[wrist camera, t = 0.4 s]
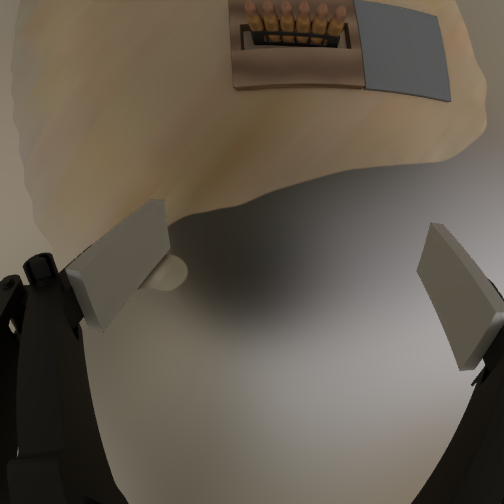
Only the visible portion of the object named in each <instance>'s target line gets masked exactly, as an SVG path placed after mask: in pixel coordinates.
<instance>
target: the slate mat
mask: <svg viewBox="0 0 504 504" xmlns="http://www.w3.org/2000/svg"><path fill="white" fill-rule="evenodd" d="M353 3H354V8H355V13H356V19H357V25H358V31H359V37H360V44H361V51H362V59H363V68H364V78H365V86H364V90H374V91H384V92H392V93H400V94H407V95H413V96H419V97H425V98H430V99H435V100H440V101H445V102H451V95H450V85H449V77H448V69H447V63H446V57H445V51H444V46H443V41H442V36H441V31H440V27H439V23H438V19H437V16H434V15H430V14H427V13H423V12H419V11H415V10H411V9H407V8H402V7H397V6H392V5H387V4H381V3H375V2H368V1H361V0H353Z"/></svg>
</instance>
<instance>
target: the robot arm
mask: <svg viewBox="0 0 504 504" xmlns="http://www.w3.org/2000/svg"><path fill="white" fill-rule="evenodd" d="M169 249H170V243H169V236H168V228H167V221H166V213H165V204H164V200H160V199H151V200H149V201H148V202H147V203H145V204H144V205H142V206H141V207H140V208H138V209H137V210H136V211H134V212H133V213H132V214H130V215H129V216H128V217H127V218H125V219H124V220H123V221H121V222H120V223H119V224H118V225H116V226H115V227H114V228H112V229H111V230H110V231H109V232H107V233H106V234H105V235H104V236H103V237H101V238H100V239H99V240H98V241H96V242H95V243H94V244H93V245H91V246H89V247H88V248H87V249H86V250H84V251H83V253H81V254H80V255H79V256H77V258H75V259H74V260H73V261H72V262H71V263H69V264H68V265H67V266H66V267H65V268H64V269H63V270H62V271H61V272H59V273H58V270H57V267H56V265H55V262H54V259H53V256H52V254H51V253H40V254H37V255H35V256H33V257H31V258H30V259H28V260H27V261H26V262H25V263H24V265H23V268H24V271H25V274H26V276H27V278H28V281H29V283H30V285H23V283H22V280H21V278H20V276H19V275H11V276H10V275H9V276H7V277H5V278H4V279H3V280H2V281H0V504H128V502H127V500H126V498H125V497H124V495H123V494H122V493H121V491H120V490H119V489H118V487H117V486H116V484H115V482H114V479H113V476H112V473H111V470H110V467H109V464H108V461H107V458H106V454H105V451H104V448H103V444H102V441H101V437H100V433H99V429H98V425H97V421H96V417H95V413H94V408H93V403H92V398H91V393H90V388H89V381H88V375H87V368H86V362H85V354H84V345H83V336H82V329H81V326H80V324H79V322H80V321H81V320H82V318H83V317H84V318H85V321H86V323H87V325H88V327H89V328H90V329H93V330H96V331H99V332H102V333H104V331H105V330H106V329H107V327H108V326H109V325H110V323H111V322H112V321H113V319H114V318H115V317H116V315H117V314H118V313H119V311H120V310H121V309H122V308H123V306H124V305H125V304H126V302H127V301H128V300H129V298H130V297H131V296H132V295H133V293H134V292H135V291H136V290H137V288H138V287H139V286H140V284H141V283H142V282H143V281H144V279H145V278H146V277H147V276H148V274H149V273H150V272H151V271H152V270H153V268H154V267H155V266H156V265H157V263H158V262H159V261H160V260H161V259H162V257H163V256H164V255H165V254H166V253H167V251H168V250H169ZM417 273H418V275H419V277H420V279H421V281H422V282H423V285H424V287H425V289H426V291H427V293H428V295H429V297H430V299H431V301H432V304H433V305H434V308H435V310H436V312H437V315H438V317H439V319H440V321H441V324H442V326H443V329H444V331H445V333H446V336H447V338H448V341H449V343H450V346H451V348H452V351H453V354H454V356H455V359H456V362H457V365H458V368H459V370H460V371H464V370H465V371H466V370H474V369H475V368H476V367H477V365H478V364H479V362H480V361H481V360H482V358H483V360H484V363H485V367H484V368H483V369H482V371H481V372H480V373H479V375H478V376H477V377H476V379H475V380H474V381H473V382H472V384H471V386H473V385H474V384H475V383H477V384H476V386H475V389H474V391H473V394H472V396H471V399H470V401H469V404H468V406H467V408H466V411H465V413H464V415H463V417H462V419H461V422H460V424H459V426H458V428H457V430H456V432H455V434H454V436H453V438H452V440H451V442H450V443H449V446H448V447H447V449H446V451H445V453H444V454H443V456H442V458H441V460H440V461H439V463H438V465H437V466H436V468H435V470H434V471H433V473H432V474H431V476H430V477H429V479H428V480H427V482H426V483H425V485H424V486H423V488H422V489H421V491H420V492H419V494H418V495H417V496H416V498H415V499H414V500H413V502H412V503H411V504H500V503H501V504H504V299H503V297H502V295H501V294H500V292H498V290H497V288H496V287H495V285H494V284H493V283H492V282H491V281H490V280H489V279H488V278H487V277H486V276H485V275H484V273H483V272H482V271H481V269H480V268H479V267H478V265H477V264H476V263H475V261H474V260H473V259H472V258H471V257H470V255H469V254H468V253H467V252H466V251H465V249H464V248H463V247H462V246H461V244H460V243H459V242H458V241H457V240H456V239H455V237H454V236H453V235H452V234H451V233H450V232H449V231H448V230H447V228H446V227H445V226H444V225H443V224H437V223H430V227H429V231H428V235H427V238H426V242H425V245H424V249H423V252H422V256H421V259H420V262H419V265H418V268H417ZM10 320H11V322H12V324H13V325H14V327H15V329H16V330H15V332H14V334H13V333H12V331H11V330H10V328H9V321H10ZM18 450H19V452H18V456H17V451H18Z"/></svg>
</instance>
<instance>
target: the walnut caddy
mask: <svg viewBox="0 0 504 504" xmlns="http://www.w3.org/2000/svg"><path fill="white" fill-rule="evenodd" d="M246 1H247V0H228V2H229V21H230V39H231V57H232V74H233V87H234V88H235V89H236V90H237V91H238V90H250V89H264V88H287V87H327V88H349V89H362V88H363V87H364V86H365V78H364V68H363V59H362V51H361V44H360V37H359V31H358V25H357V19H356V13H355V8H354V3H353V0H287V1H288V2H289V3H290V4H291V6H292V11H293V15H294V18H295V21H296V16H297V15H298V9H299V6H300V4H301V3H302V2H304V1H306V2H307V3H308V5H309V8H310V17H311V22H312V21H313V18H314V16H315V14H316V11H317V8H318V7H319V6H320V5H321V4H322V3H325V4H326V5H327V8H328V18H327V19H328V24H329V21H330V19H331V18H332V17H333V15H334V12H335V11H336V9H337V8H338V7H340V6H344V7H345V9H346V17H345V21H344V27H343V29H345V35H346V42H347V49H344V48H325V47H284V48H264V49H252V50H244V40H243V31H249V30H251V28H250V26H249V23H248V21H247V14H246V10H245V3H246ZM250 1H252V2H253V3H254V4H255V6H256V7H257V10H258V11H259V13H260V14H261V16H262V19H263V15H264V14H263V3H264V1H265V0H250ZM269 1H270V2H271V3H272V4H273V6H274V8H275V11H276V14H277V15H278V19H279V18H280V12H281V4H282V3H283V1H285V0H269ZM279 20H280V19H279ZM279 25H280V24H279ZM311 27H312V26H310V28H311ZM280 28H281V27H280ZM295 28H296V25H295ZM265 29H266V28H265Z"/></svg>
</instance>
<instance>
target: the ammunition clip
mask: <svg viewBox="0 0 504 504" xmlns="http://www.w3.org/2000/svg"><path fill="white" fill-rule="evenodd" d="M245 10H246V14H247V21H248V23H249V26H250V28H251V34H252V38H253V42H254V44H255V45H278V46H298V47H325V48H337V46H338V43H339V40H340V34H341V32H342V29H343V27H344V21H345V17H346V9H345V7H344V6H340V7H338V8H337V9H336V11H335V12H334V15H333V17H332V18H331V19H330V21H329V24H328V19H327V18H328V8H327V5H326V4H325V3H322V4H321V5H320V6H319V7H318V8H317V11H316V14H315V16H314V18H313V21H312V22H311V17H310V8H309V5H308V3H307V2H306V1H304V2H302V3H301V4H300V6H299V9H298V15H297V16H296V21H295V18H294V15H293V11H292V6H291V4H290V3H289V2H288V1H287V0H285V1H283V3H282V4H281V12H280V18H279V19H280V20H279V19H278V15H277V14H276V11H275V8H274V6H273V4H272V3H271V2H270V1H269V0H265V1H264V3H263V14H264V15H263V19H262V16H261V14H260V13H259V11H258V10H257V7H256V6H255V4H254V3H253V2H252V1H250V0H247V1H246V3H245ZM279 24H280V25H279ZM295 25H296V32H295ZM310 26H312V27H311V33H310ZM280 27H281V31H280ZM265 28H266V29H265ZM326 28H327V30H326ZM325 31H326V34H325Z"/></svg>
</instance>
